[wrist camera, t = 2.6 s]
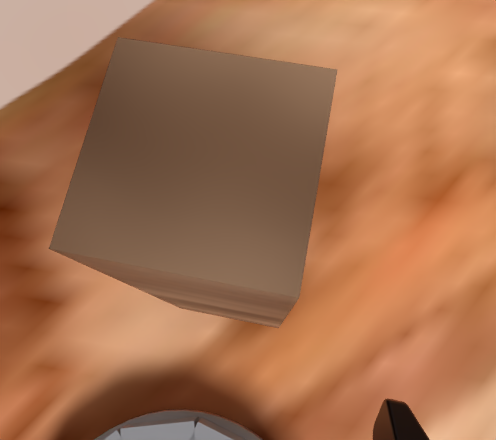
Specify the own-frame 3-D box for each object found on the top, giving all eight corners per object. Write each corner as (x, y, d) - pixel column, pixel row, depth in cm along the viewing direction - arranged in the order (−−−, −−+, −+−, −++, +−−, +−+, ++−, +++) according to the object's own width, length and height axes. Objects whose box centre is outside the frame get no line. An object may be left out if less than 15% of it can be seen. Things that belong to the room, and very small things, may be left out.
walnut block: (278, 328, 20) (298, 298, 8) (180, 308, 21) (48, 248, 8) (295, 231, 21) (337, 69, 9) (202, 214, 22) (117, 36, 9)
